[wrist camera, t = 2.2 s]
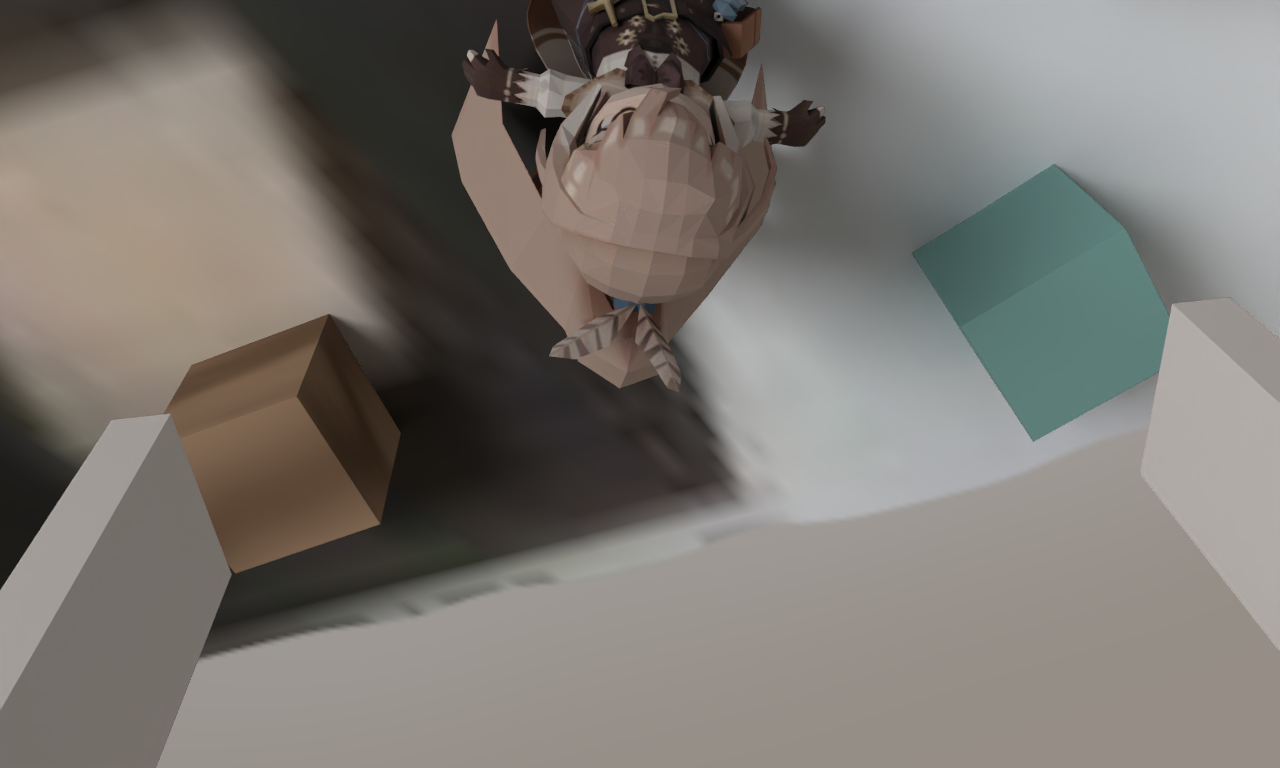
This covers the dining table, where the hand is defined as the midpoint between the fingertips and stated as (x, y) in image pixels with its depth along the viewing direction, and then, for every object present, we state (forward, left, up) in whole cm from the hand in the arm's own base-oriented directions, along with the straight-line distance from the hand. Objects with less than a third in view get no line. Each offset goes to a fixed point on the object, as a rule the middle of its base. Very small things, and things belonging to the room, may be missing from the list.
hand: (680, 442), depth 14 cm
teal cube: (+8, +12, -19) cm, 24 cm away
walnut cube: (+10, -12, -19) cm, 25 cm away
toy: (0, 0, -19) cm, 19 cm away
